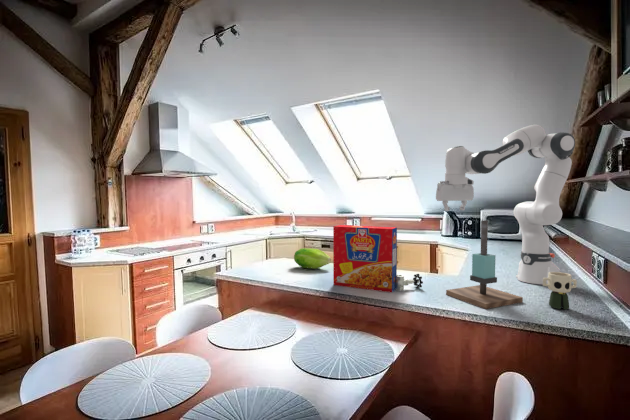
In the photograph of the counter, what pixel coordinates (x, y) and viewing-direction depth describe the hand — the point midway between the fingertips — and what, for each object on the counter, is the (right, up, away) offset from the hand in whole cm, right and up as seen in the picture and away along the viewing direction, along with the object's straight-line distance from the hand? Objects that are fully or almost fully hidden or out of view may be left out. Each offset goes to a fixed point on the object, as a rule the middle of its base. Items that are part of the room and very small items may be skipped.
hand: (454, 210), depth 162 cm
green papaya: (-68, -34, +36) cm, 84 cm away
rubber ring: (+3, -29, -21) cm, 36 cm away
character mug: (+26, -37, -33) cm, 56 cm away
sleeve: (+3, -27, -21) cm, 35 cm away
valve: (-24, -36, -6) cm, 44 cm away
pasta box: (-43, -36, -2) cm, 56 cm away
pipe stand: (+3, -36, -21) cm, 42 cm away
